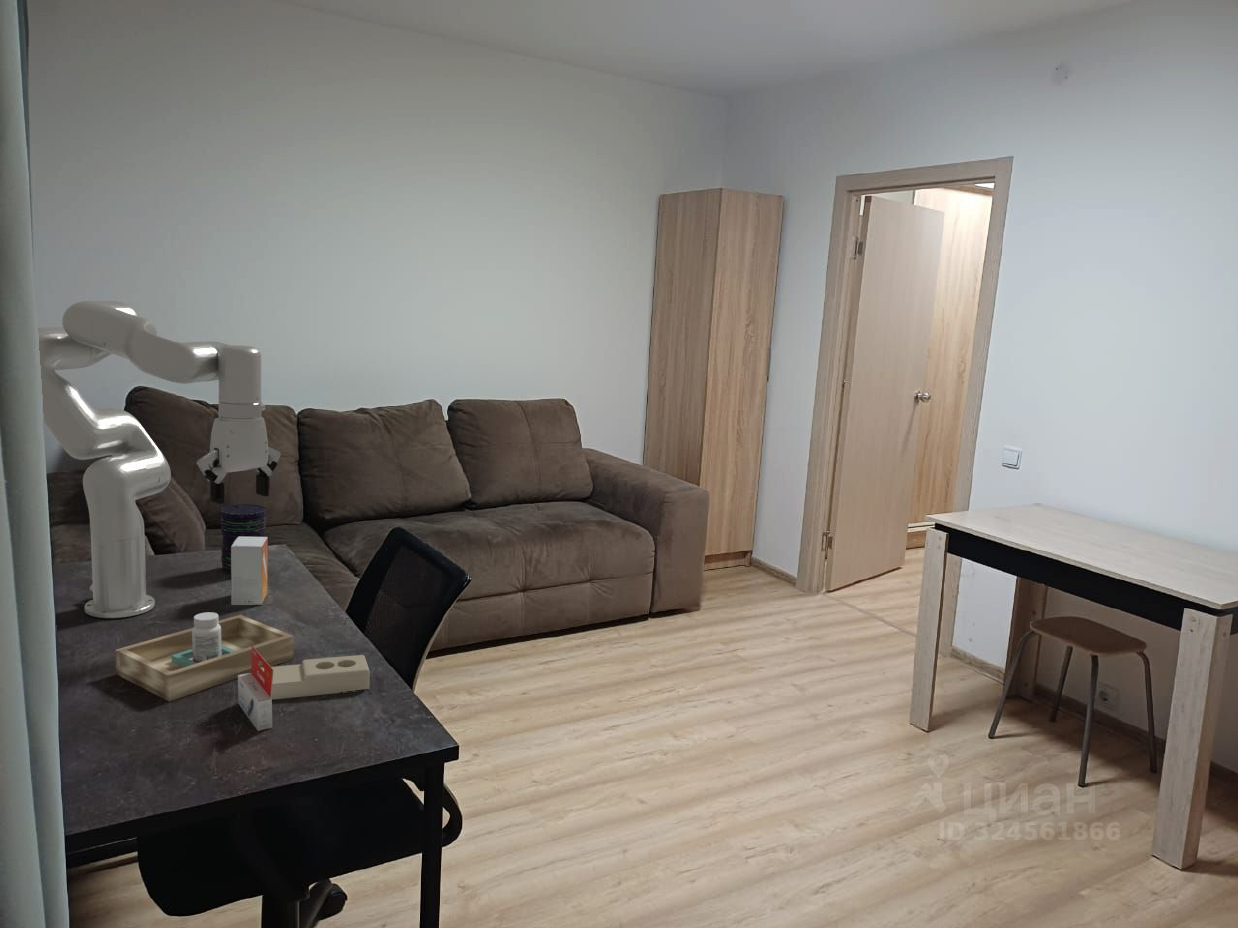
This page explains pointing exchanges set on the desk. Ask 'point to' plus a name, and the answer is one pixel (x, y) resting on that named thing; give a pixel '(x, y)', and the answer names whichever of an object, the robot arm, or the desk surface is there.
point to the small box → (249, 570)
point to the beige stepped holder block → (320, 677)
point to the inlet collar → (184, 656)
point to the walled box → (172, 681)
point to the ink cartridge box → (257, 692)
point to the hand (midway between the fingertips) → (240, 498)
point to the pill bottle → (206, 637)
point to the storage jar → (240, 528)
